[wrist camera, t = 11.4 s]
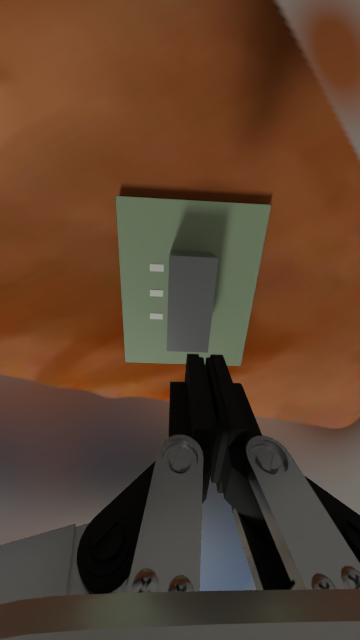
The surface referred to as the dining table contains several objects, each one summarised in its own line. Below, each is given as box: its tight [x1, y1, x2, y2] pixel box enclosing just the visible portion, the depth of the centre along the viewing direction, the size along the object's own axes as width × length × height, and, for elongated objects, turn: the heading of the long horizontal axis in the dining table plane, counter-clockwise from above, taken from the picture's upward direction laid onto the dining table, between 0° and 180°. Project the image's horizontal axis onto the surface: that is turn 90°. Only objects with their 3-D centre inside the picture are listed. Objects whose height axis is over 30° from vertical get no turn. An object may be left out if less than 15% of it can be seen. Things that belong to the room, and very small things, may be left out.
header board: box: [116, 196, 271, 366], centre depth 25 cm, size 20×16×5 cm
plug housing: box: [167, 250, 219, 353], centre depth 24 cm, size 10×4×5 cm, turn 177°
